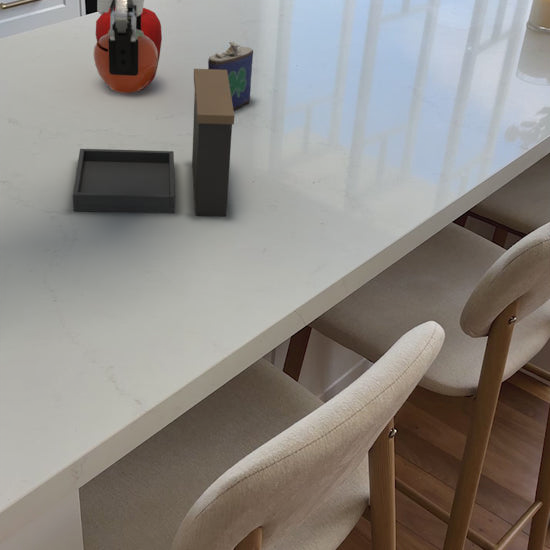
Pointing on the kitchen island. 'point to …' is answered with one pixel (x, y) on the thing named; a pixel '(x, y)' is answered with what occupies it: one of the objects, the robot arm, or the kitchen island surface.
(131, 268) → the kitchen island surface
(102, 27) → the apple
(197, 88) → the tower
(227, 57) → the flask
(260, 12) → the kitchen island surface
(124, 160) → the pan
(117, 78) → the tomato
